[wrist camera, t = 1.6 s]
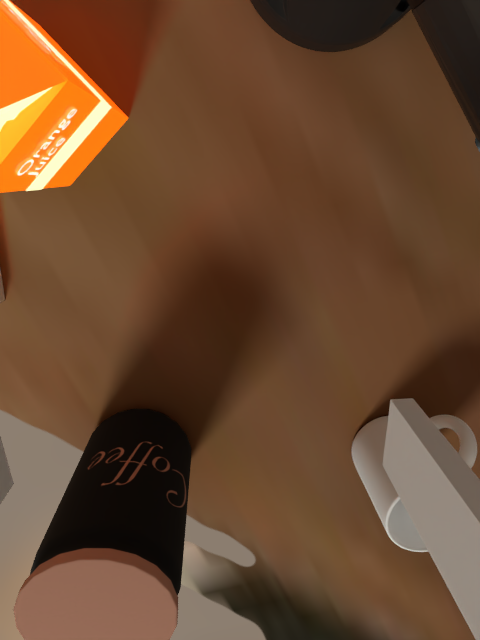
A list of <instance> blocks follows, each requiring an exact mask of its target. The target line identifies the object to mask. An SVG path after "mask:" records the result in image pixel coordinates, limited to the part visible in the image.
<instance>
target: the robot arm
mask: <svg viewBox="0 0 480 640" xmlns="http://www.w3.org/2000/svg"><path fill="white" fill-rule="evenodd" d="M250 1H251V3H252V4H253V6H254V7H255V9H256V10H257V12H258V13H259V15H260V16H261V17H262V18H263V19H264V21H265V22H266V23H267V24H268V25H269V26H270V27H271V28H272V29H273V30H275V31H276V32H277V33H278V34H280V35H281V36H282V37H284V38H285V39H287V40H288V41H290V42H292V43H294V44H296V45H299V46H301V47H304V48H307V49H311V50H315V51H322V52H338V51H345V50H349V49H353V48H356V47H359V46H361V45H364V44H366V43H368V42H370V41H372V40H374V39H375V38H377V37H379V36H380V35H381V34H383V33H384V32H386V31H387V30H388V29H389V28H390V27H392V26H393V25H394V24H395V23H396V22H398V21H399V20H400V19H401V18H402V17H403V16H404V15H405V14H406V13H408V11H409V10H410V9H411V10H412V9H413V10H412V13H413V15H414V17H415V18H416V20H417V22H418V24H419V26H420V28H421V30H422V32H423V34H424V36H425V38H426V40H427V42H428V44H429V46H430V48H431V50H432V52H433V54H434V56H435V58H436V60H437V62H438V63H439V65H440V67H441V69H442V71H443V73H444V75H445V77H446V79H447V81H448V83H449V85H450V87H451V89H452V91H453V93H454V95H455V97H456V99H457V101H458V103H459V105H460V106H461V108H462V110H463V112H464V114H465V116H466V118H467V120H468V122H469V124H470V126H471V128H472V130H473V132H474V134H475V136H476V139H475V143H476V146H477V148H478V149H479V151H480V0H250ZM382 465H383V467H384V469H385V471H386V473H387V475H388V477H389V479H390V480H391V482H392V484H393V486H394V488H395V490H396V492H397V493H398V495H399V497H400V499H401V501H402V503H403V505H404V507H405V508H406V510H407V512H408V514H409V516H410V518H411V520H412V521H413V523H414V525H415V527H416V529H417V531H418V533H419V534H420V536H421V538H422V540H423V542H424V544H425V546H426V548H427V549H428V551H429V553H430V555H431V557H432V559H433V561H434V562H435V564H436V566H437V568H438V570H439V572H440V574H441V575H442V577H443V579H444V581H445V583H446V585H447V587H448V589H449V590H450V592H451V594H452V596H453V598H454V600H455V602H456V603H457V605H458V607H459V609H460V611H461V613H462V615H463V617H464V618H465V620H466V622H467V624H468V626H469V628H470V630H471V631H472V633H473V635H474V637H475V639H476V640H480V479H479V478H478V477H477V476H476V475H475V473H474V472H473V471H472V470H471V468H470V467H469V466H468V465H467V464H466V462H465V461H464V460H463V459H462V458H461V456H460V455H459V454H458V453H457V451H456V450H455V449H454V448H453V447H452V445H451V444H450V443H449V442H448V440H447V439H446V438H445V437H444V436H443V434H442V433H441V432H440V431H439V430H438V428H437V427H436V426H435V425H434V423H433V422H432V421H431V420H430V419H429V417H428V416H427V415H426V414H425V412H424V411H423V410H422V409H421V408H420V406H419V405H418V404H417V403H416V402H415V400H414V399H413V398H409V399H391V400H390V408H389V416H388V424H387V432H386V440H385V448H384V456H383V464H382ZM13 484H14V483H13V480H12V476H11V473H10V469H9V466H8V462H7V459H6V455H5V452H4V448H3V444H2V441H1V437H0V503H1V502H2V501H3V499H4V498H5V496H6V495H7V493H8V492H9V490H10V488H11V487H12V485H13Z"/></svg>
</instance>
